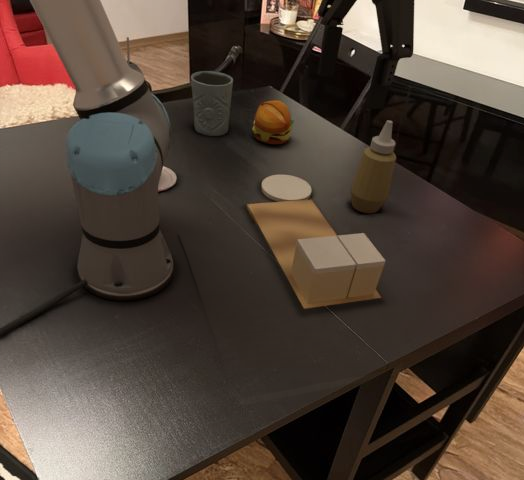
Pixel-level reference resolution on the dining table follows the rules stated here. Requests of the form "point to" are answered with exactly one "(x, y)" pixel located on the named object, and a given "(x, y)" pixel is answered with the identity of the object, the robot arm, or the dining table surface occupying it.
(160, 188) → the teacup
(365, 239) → the cake slice
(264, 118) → the cheeseburger
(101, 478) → the dining table surface
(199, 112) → the drinking glass
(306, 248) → the cake
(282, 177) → the plate
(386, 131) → the squeeze bottle
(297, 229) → the serving board
